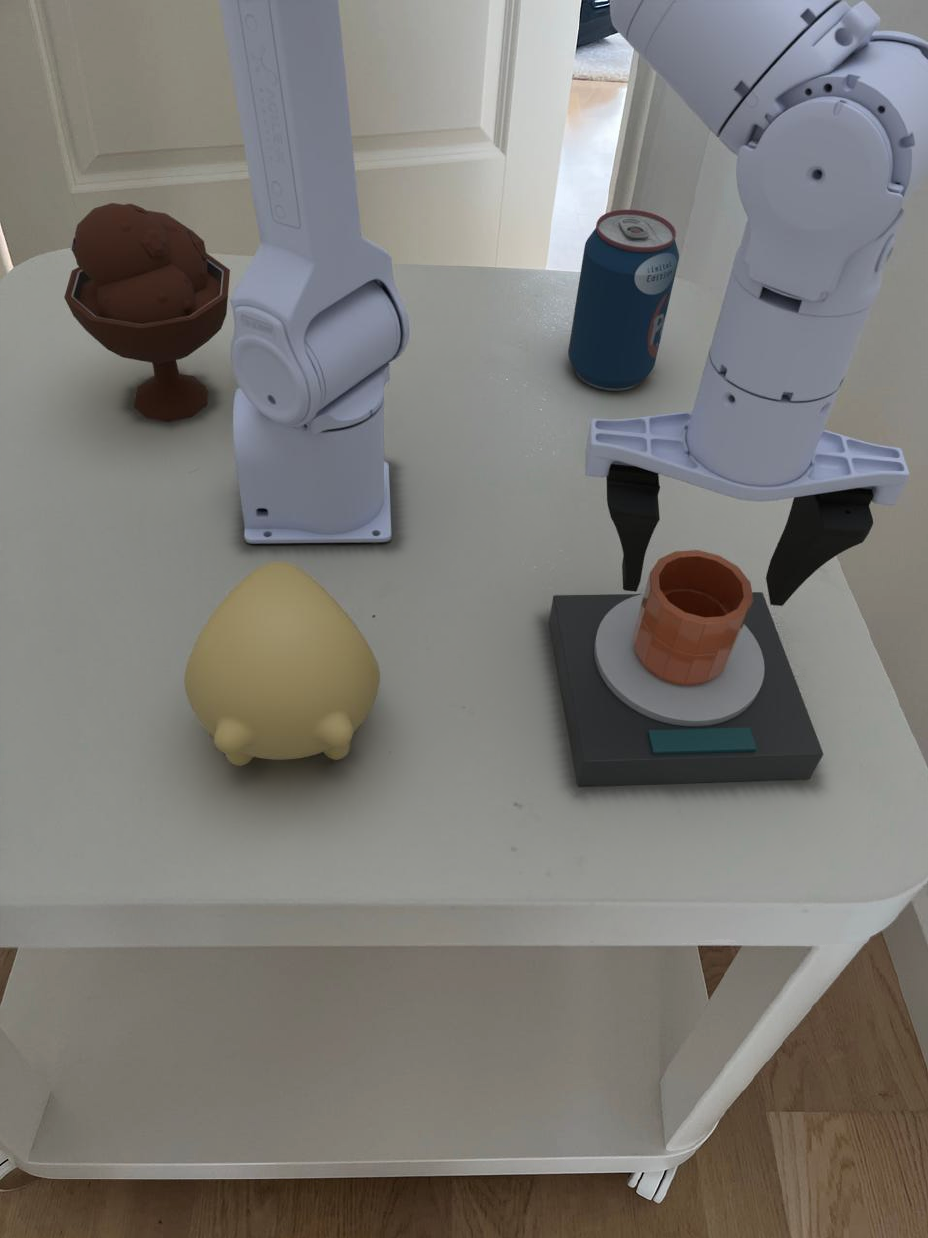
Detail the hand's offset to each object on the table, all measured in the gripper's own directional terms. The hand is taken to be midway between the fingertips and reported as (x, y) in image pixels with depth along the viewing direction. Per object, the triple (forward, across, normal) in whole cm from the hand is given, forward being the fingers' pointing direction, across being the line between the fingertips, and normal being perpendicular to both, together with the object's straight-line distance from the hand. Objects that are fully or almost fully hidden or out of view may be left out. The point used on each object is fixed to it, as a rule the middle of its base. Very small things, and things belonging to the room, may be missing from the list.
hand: (701, 584), depth 53 cm
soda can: (+9, +3, -32) cm, 33 cm away
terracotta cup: (+6, 0, 0) cm, 6 cm away
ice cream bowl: (+9, +36, -23) cm, 43 cm away
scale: (+8, 0, +1) cm, 9 cm away
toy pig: (+9, +21, +5) cm, 24 cm away
